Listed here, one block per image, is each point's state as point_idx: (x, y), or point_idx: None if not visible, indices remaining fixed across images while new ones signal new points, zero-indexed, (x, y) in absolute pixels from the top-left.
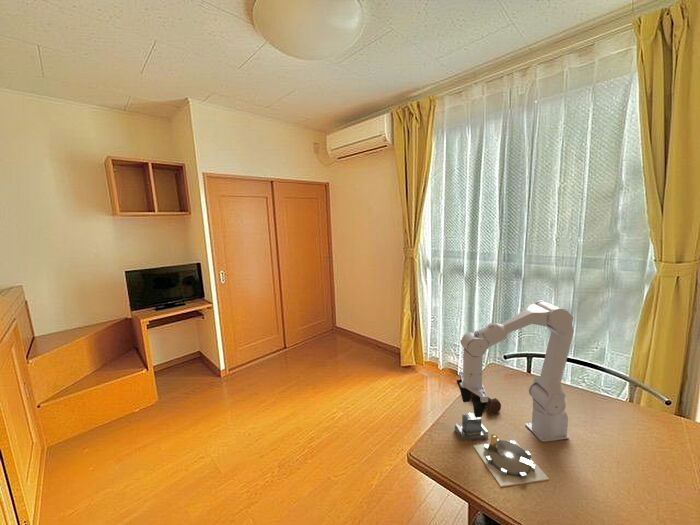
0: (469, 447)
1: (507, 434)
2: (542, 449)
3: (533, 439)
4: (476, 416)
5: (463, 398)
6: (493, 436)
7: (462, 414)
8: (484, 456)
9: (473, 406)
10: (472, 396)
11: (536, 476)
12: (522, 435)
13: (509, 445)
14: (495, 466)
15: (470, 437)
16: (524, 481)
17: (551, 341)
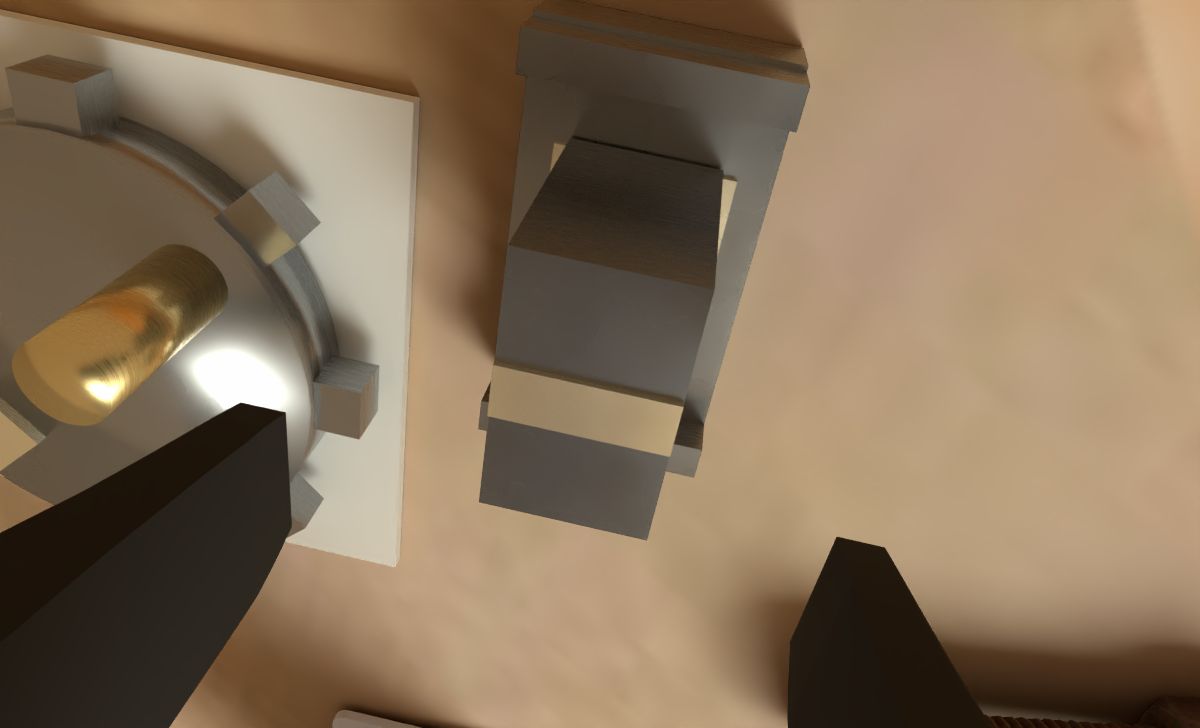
0: (419, 31)
1: (498, 570)
2: (272, 651)
3: (386, 682)
4: (214, 428)
5: (853, 624)
6: (56, 372)
7: (709, 287)
8: (214, 109)
9: (42, 592)
10: (1183, 725)
11: None
12: (450, 655)
13: None
14: (9, 108)
15: (519, 155)
16: None
17: None
